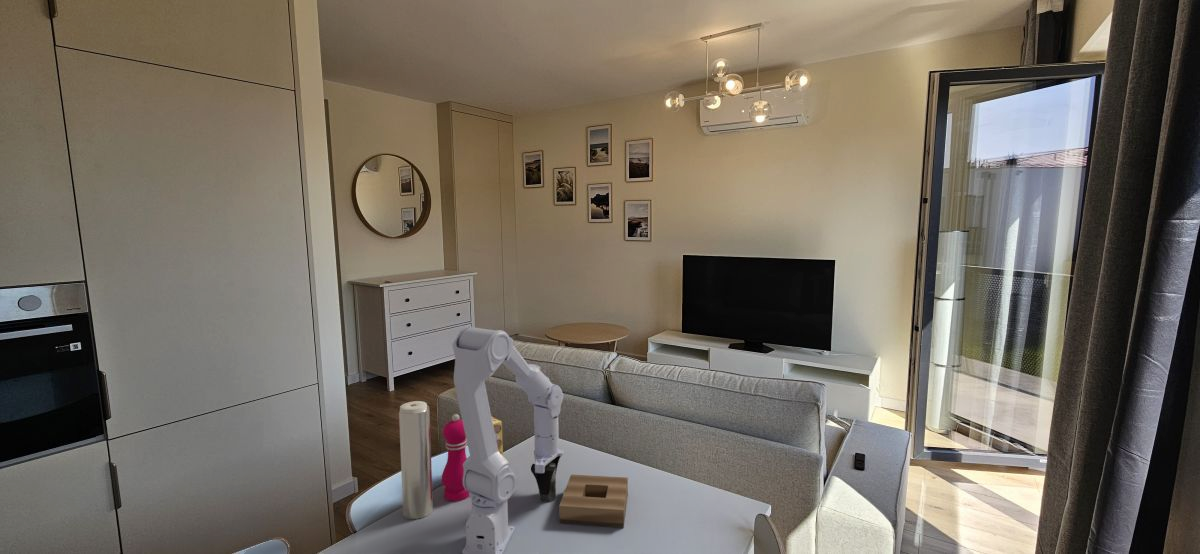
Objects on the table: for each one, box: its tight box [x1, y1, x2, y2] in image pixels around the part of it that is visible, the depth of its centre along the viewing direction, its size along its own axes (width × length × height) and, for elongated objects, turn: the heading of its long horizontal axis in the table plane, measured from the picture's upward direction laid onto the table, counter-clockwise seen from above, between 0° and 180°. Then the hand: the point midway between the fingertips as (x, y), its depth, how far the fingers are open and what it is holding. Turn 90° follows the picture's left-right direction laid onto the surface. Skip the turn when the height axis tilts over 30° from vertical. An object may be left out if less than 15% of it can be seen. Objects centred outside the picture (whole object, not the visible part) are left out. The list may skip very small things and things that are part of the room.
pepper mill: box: [441, 413, 470, 502], centre depth 116 cm, size 7×7×20 cm
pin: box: [538, 462, 557, 503], centre depth 114 cm, size 4×4×8 cm
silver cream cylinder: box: [398, 400, 434, 520], centre depth 108 cm, size 6×6×25 cm
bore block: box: [558, 474, 629, 529], centre depth 110 cm, size 14×14×4 cm
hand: (547, 487), depth 114 cm, fingers open, 5 cm apart
